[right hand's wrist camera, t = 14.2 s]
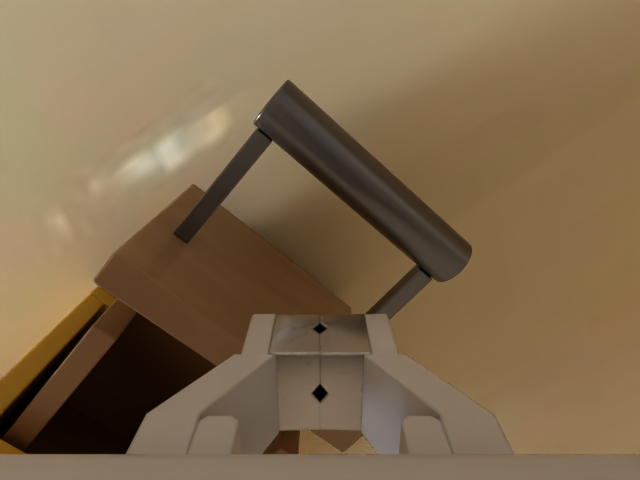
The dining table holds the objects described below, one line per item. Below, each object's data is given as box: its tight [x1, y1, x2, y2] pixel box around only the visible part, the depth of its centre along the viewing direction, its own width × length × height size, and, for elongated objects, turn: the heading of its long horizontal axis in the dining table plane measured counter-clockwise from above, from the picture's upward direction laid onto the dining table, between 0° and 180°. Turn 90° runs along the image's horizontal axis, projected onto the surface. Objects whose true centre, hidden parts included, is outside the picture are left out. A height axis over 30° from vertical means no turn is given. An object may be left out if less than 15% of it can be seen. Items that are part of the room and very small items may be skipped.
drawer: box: [1, 80, 472, 454], centre depth 18 cm, size 20×9×8 cm, turn 139°
